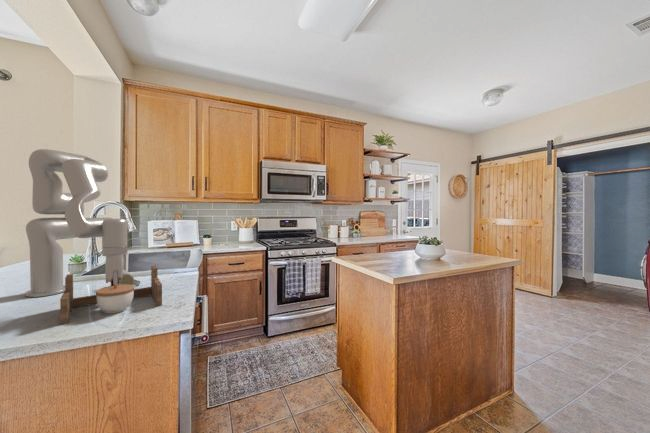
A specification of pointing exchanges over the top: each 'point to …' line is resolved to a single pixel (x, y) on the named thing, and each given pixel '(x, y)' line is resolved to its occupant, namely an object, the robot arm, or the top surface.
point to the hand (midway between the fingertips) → (115, 298)
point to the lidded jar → (115, 298)
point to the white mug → (128, 279)
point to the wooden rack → (69, 302)
